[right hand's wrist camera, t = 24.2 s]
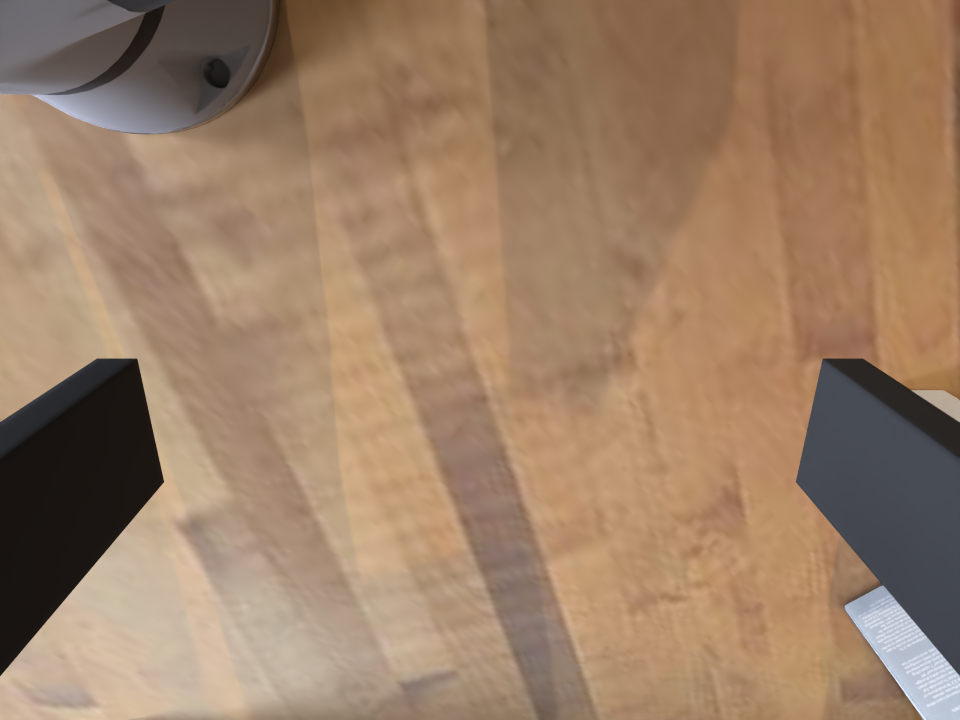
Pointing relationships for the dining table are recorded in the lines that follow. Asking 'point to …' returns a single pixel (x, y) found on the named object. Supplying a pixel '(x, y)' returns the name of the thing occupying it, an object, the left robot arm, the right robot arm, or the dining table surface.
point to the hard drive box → (908, 655)
